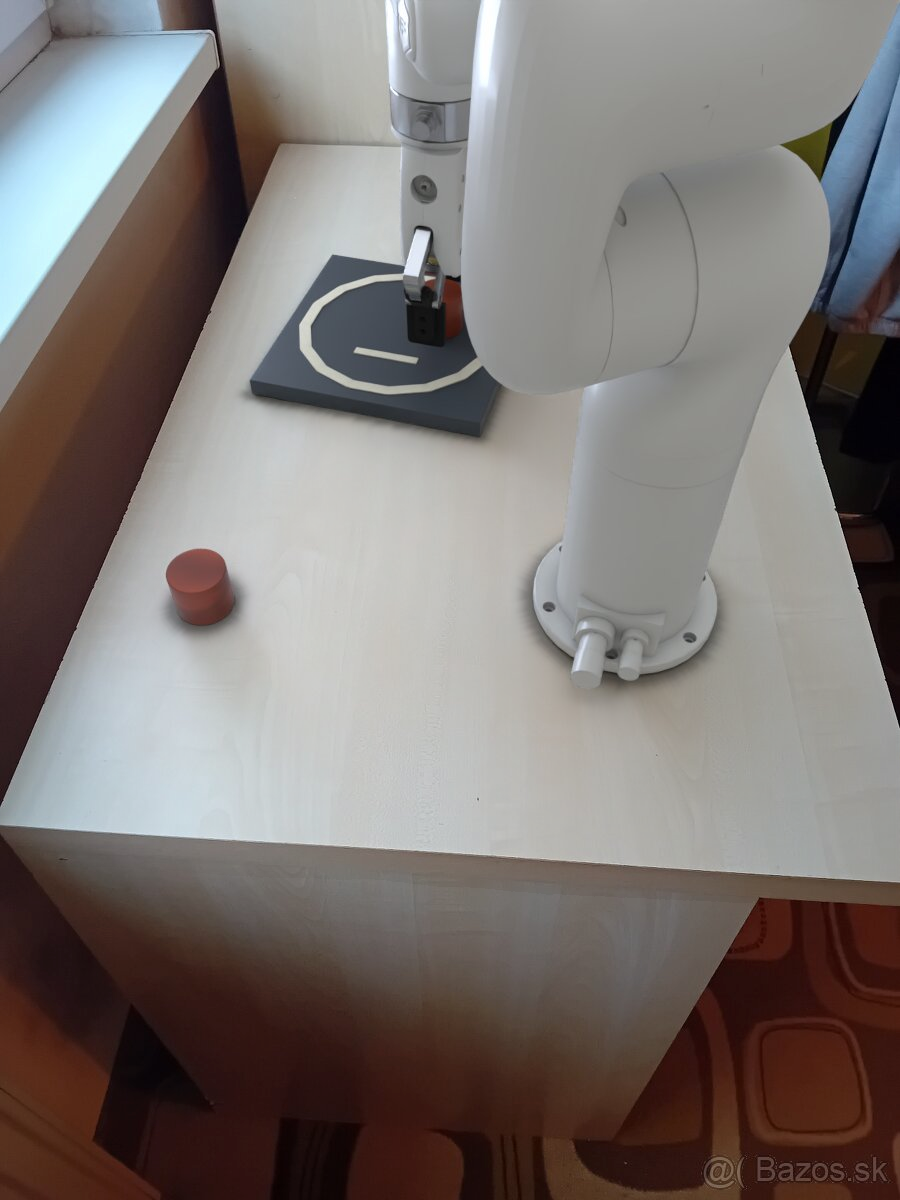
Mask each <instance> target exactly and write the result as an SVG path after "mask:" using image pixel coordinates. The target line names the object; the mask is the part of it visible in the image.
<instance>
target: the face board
mask: <svg viewBox="0 0 900 1200" xmlns="http://www.w3.org/2000/svg"><path fill="white" fill-rule="evenodd" d="M404 271H405V266H404V265H401V264H396V263H391V262H390V263H389V262H383V261H377V260H369V259H365V258H358V257H353V256H352V257H351V256H346V255H340V254H339V255H338V254H331V256H330V257H329V259H328V260H327V262H326V263H325V265H324V266H323V268H322V269H321V270H320V272H319V273H318V275H317V276H316V278H315V280H314V282H313V283H312V284H311V286H310V287H309V289H308V290H307V292H306V294H305V295H304V297H303V298H302V300H301V301H300V303H299V304H298V306H297V307H296V308H295V310H294V312H293V313H292V315H291V316H290V318H289V319H288V321H287V322H286V323H285V325H284V326H283V329H282V330H281V331H280V333H279V335H278V336H277V337H276V339H275V340H274V342H273V344H271V347H270V348H269V350H268V351H267V353H266V354H265V355H264V357H263V359H262V360H261V362H260V363H259V365H258V366H257V368H256V370H254V372H253V374H252V375H251V377H250V378H249V385H250V390H251V394H252V395H257V396H262V397H268V398H273V399H278V400H282V401H288V402H294V403H298V404H304V405H305V404H306V405H310V406H314V407H320V408H326V409H330V410H336V411H341V412H346V413H352V414H357V415H361V416H368V417H373V418H377V419H383V420H389V421H394V422H399V423H405V424H410V425H414V426H419V427H420V426H421V427H426V428H431V429H436V430H440V431H441V430H442V431H446V432H452V433H458V434H463V435H468V436H473V437H481V435H482V434H483V430H484V427H485V425H486V422H487V420H488V417H489V414H490V413H491V411H492V407H493V405H494V403H495V399H496V397H497V395H498V393H499V390H500V387H501V385H502V384H500V383H499V382H498V381H496V380H495V379H494V378H493V377H492V376H491V375H490V374H489V373H488V372H487V370H486V369H485V368H484V366H483V365H482V364H481V362H480V360H479V358H478V357H477V355H476V352H475V350H474V348H473V345H472V343H471V340H470V337H469V333H468V330H467V325H466V321H465V316H464V309H463V327H462V330H461V331H460V333H458V334H457V335H456V336H454V337H451V338H448V339H446V343H445V345H444V346H443V347H436V346H430V345H424V344H418V343H412V342H410V341H409V340H408V333H407V310H406V303H405V295H404V288H405V287H404V284H403V275H404ZM424 279H425V281H428V280H431V279H436V275H430V274H425V275H424ZM456 283H458V284H459V285H460V286H461V282H456Z"/></svg>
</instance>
